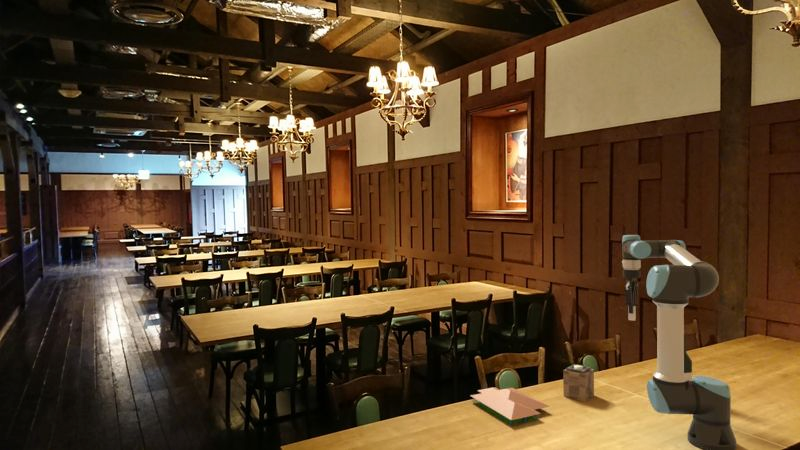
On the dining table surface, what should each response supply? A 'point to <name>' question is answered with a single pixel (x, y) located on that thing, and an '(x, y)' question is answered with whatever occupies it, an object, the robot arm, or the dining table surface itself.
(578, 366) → the peg
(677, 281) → the robot arm
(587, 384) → the socket block
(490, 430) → the dining table surface
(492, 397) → the house
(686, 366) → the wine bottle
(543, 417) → the dining table surface
